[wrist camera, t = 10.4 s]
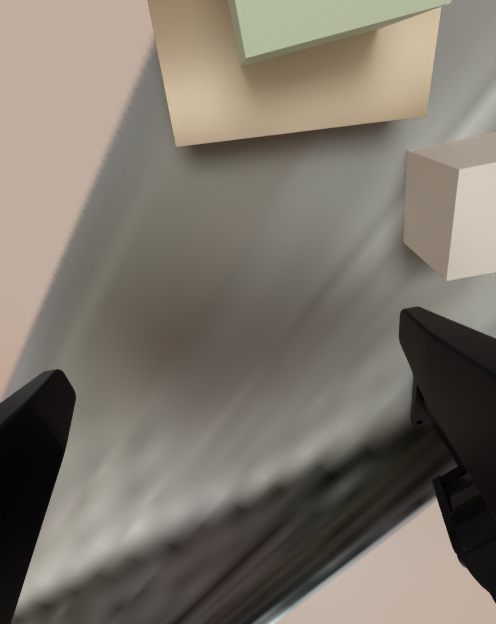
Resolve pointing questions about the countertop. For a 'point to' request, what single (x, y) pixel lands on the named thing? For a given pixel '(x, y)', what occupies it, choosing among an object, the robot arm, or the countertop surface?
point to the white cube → (453, 206)
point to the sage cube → (312, 22)
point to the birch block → (286, 76)
